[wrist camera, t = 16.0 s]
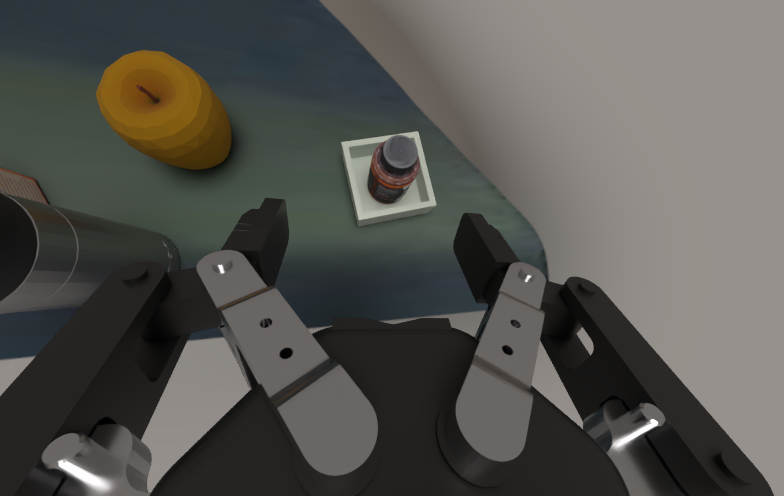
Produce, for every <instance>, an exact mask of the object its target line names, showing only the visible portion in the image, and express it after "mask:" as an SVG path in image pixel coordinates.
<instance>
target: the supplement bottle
mask: <svg viewBox="0 0 784 496" xmlns="http://www.w3.org/2000/svg"><path fill="white" fill-rule="evenodd" d="M419 168H420V160H419V156H418V149H417V146H416V144H415V143H414V142H413V140H411V139H410V138H409V137H407V136H404V135H395V136H392V137H390V138H389V139H388V140H386V141H384V142H382V143H381V144H380V145H379V146H378V147H377V148H376V149H375V151H374V153H373V156H372V160H371V165H370V170H369V175H368V181H367V186H368V190H369V193H370V194H371V196H372V197H373V198H374V199H375V200H377V201H378V202H380V203H384V204H392V203H395V202H397V201H399V200H400V199H401V198H402V197H403V196H404V195H405V193H406V191H407V190H408V188H409V187H410V185H411V184H412V182H413V181H414V179H415V178H416V176H417V174H418V172H419Z"/></svg>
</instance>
